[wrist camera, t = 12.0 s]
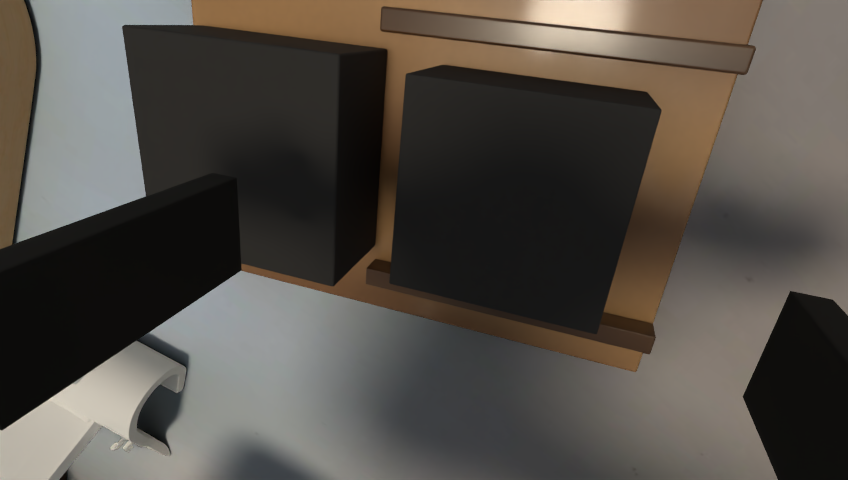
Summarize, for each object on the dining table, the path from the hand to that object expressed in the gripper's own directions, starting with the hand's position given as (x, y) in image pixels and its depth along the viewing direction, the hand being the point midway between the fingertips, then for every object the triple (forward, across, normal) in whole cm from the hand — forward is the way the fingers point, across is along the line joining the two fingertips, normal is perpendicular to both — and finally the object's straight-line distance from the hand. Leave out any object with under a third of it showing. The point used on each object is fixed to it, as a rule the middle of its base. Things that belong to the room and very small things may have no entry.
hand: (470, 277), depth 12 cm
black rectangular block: (+8, 0, -1) cm, 8 cm away
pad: (+8, +9, 0) cm, 12 cm away
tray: (+9, +4, 0) cm, 10 cm away
